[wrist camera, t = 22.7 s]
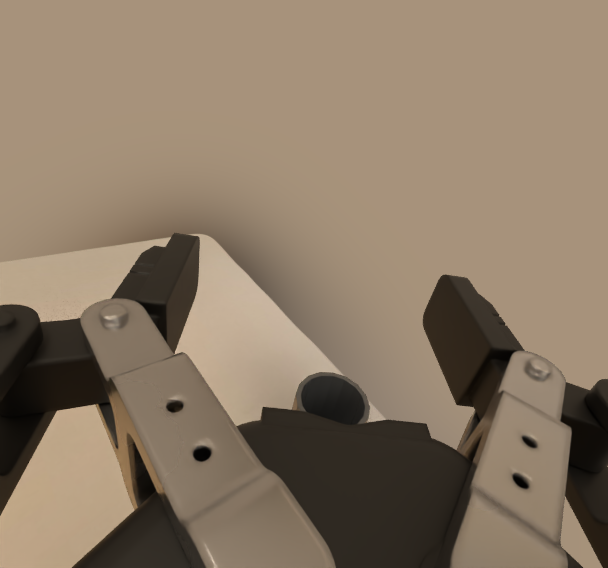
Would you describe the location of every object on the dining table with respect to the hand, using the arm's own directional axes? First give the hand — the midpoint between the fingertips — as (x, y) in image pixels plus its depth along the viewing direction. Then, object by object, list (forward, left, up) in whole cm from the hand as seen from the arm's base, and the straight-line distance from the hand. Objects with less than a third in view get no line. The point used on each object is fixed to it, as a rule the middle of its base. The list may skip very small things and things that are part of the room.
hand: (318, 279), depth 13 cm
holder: (+9, -13, -32) cm, 36 cm away
